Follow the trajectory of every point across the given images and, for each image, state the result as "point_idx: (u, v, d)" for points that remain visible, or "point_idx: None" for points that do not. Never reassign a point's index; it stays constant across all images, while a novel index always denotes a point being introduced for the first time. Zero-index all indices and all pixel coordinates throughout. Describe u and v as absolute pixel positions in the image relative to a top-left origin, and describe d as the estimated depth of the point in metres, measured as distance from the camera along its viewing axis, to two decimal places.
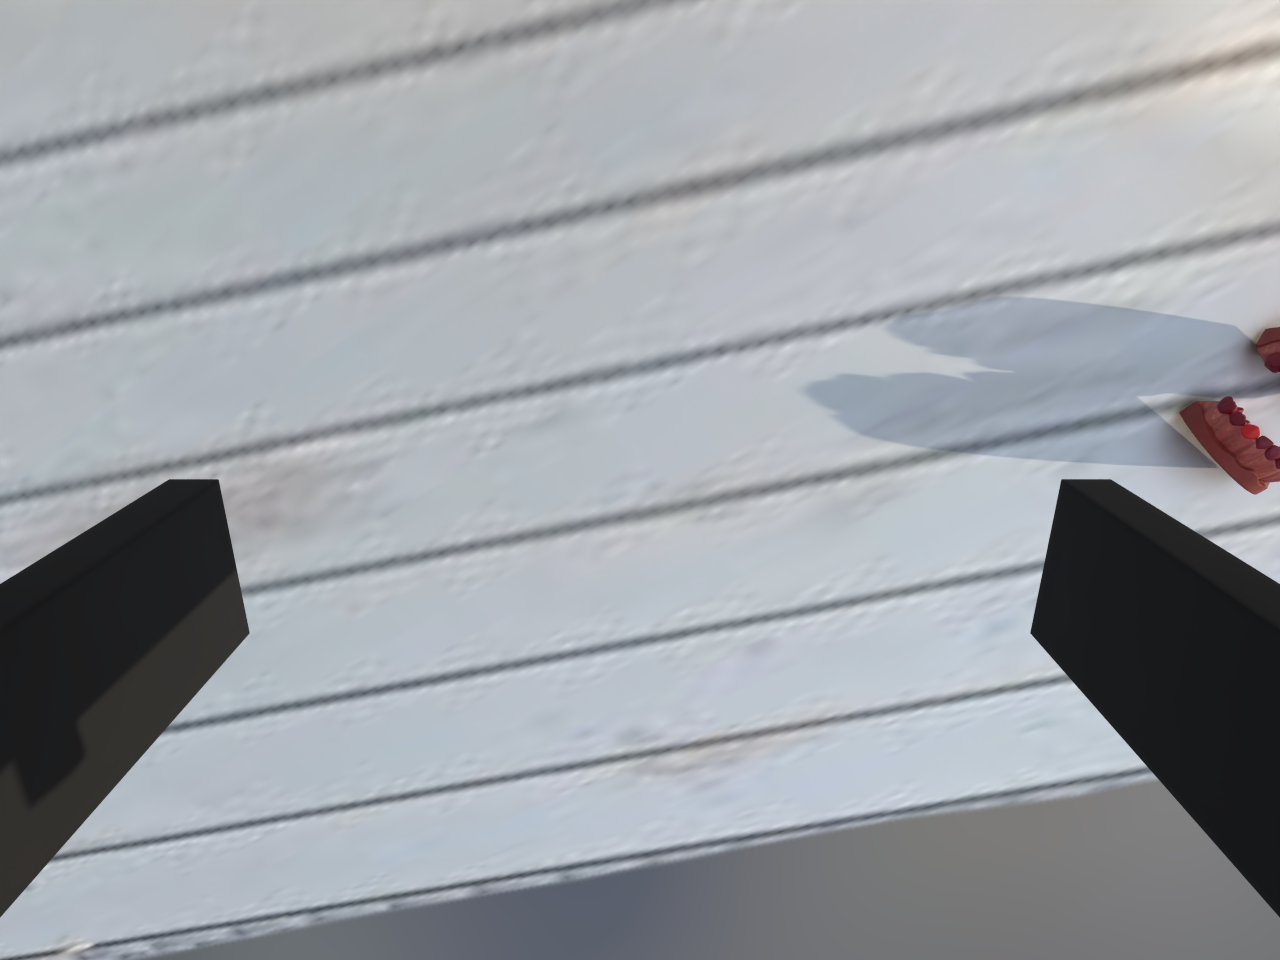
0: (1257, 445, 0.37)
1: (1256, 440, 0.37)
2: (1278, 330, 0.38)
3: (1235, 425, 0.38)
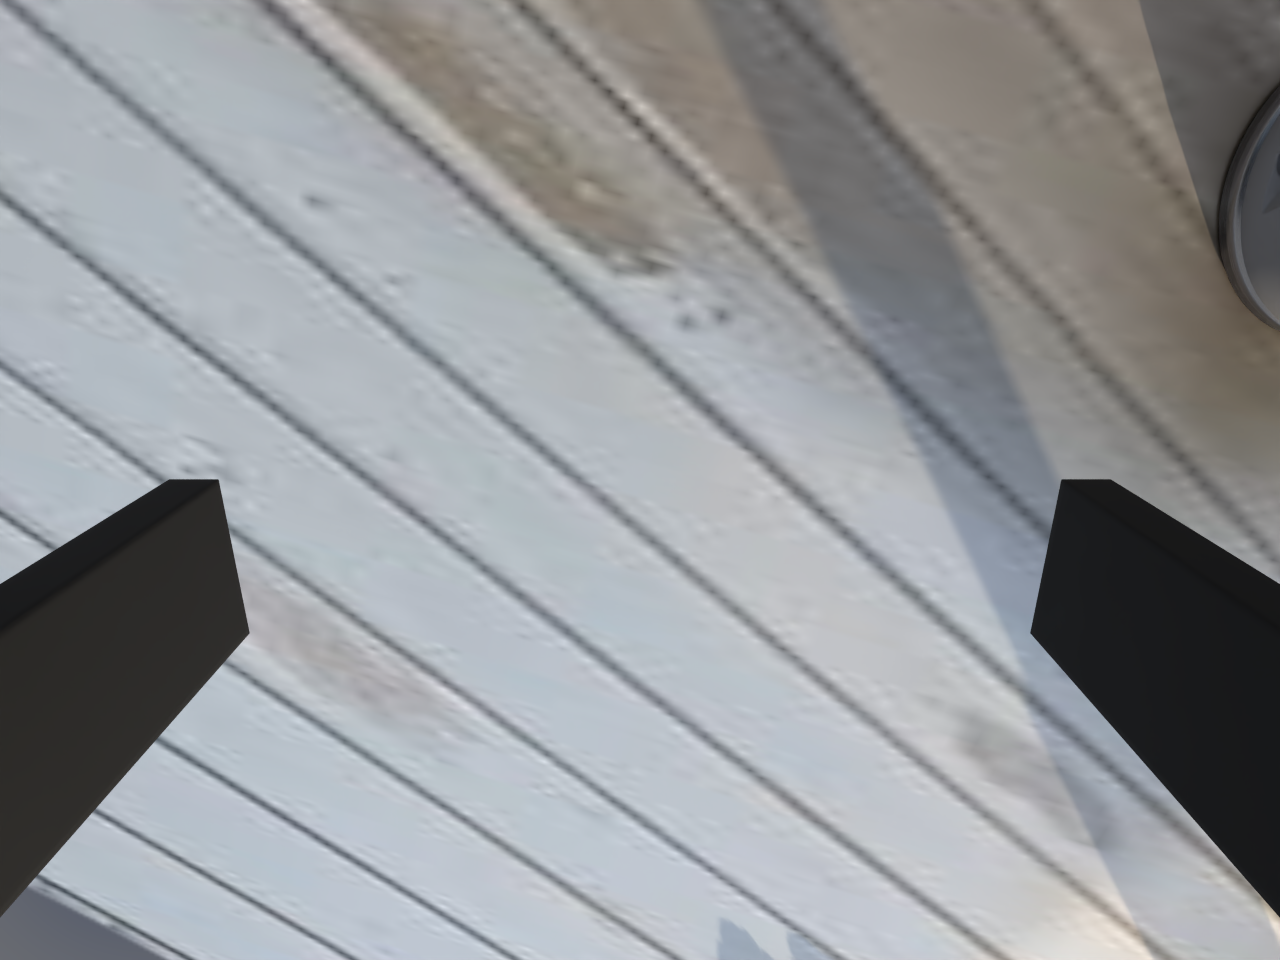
0: None
1: None
2: None
3: None
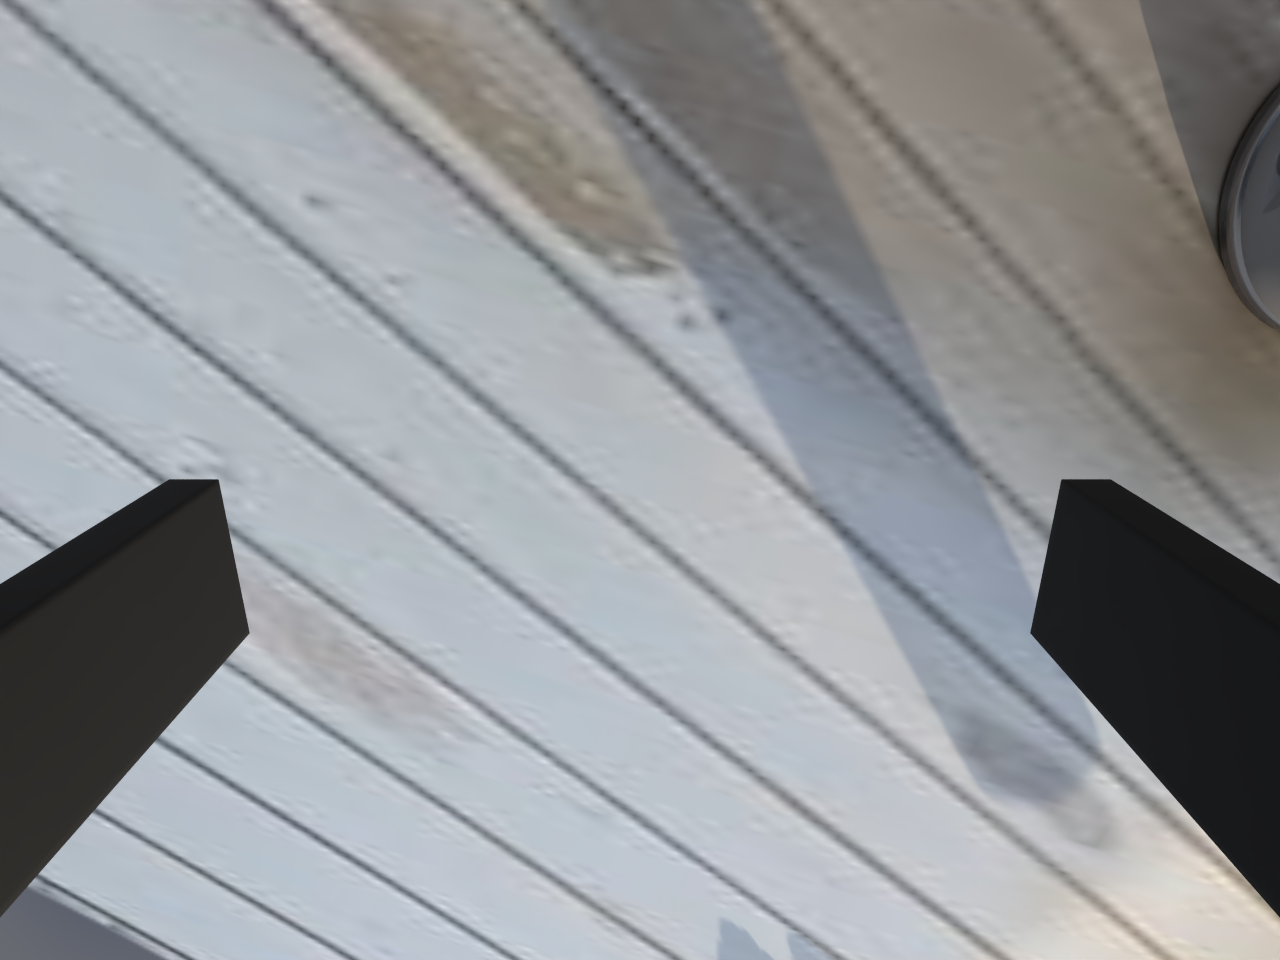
0: None
1: None
2: None
3: None
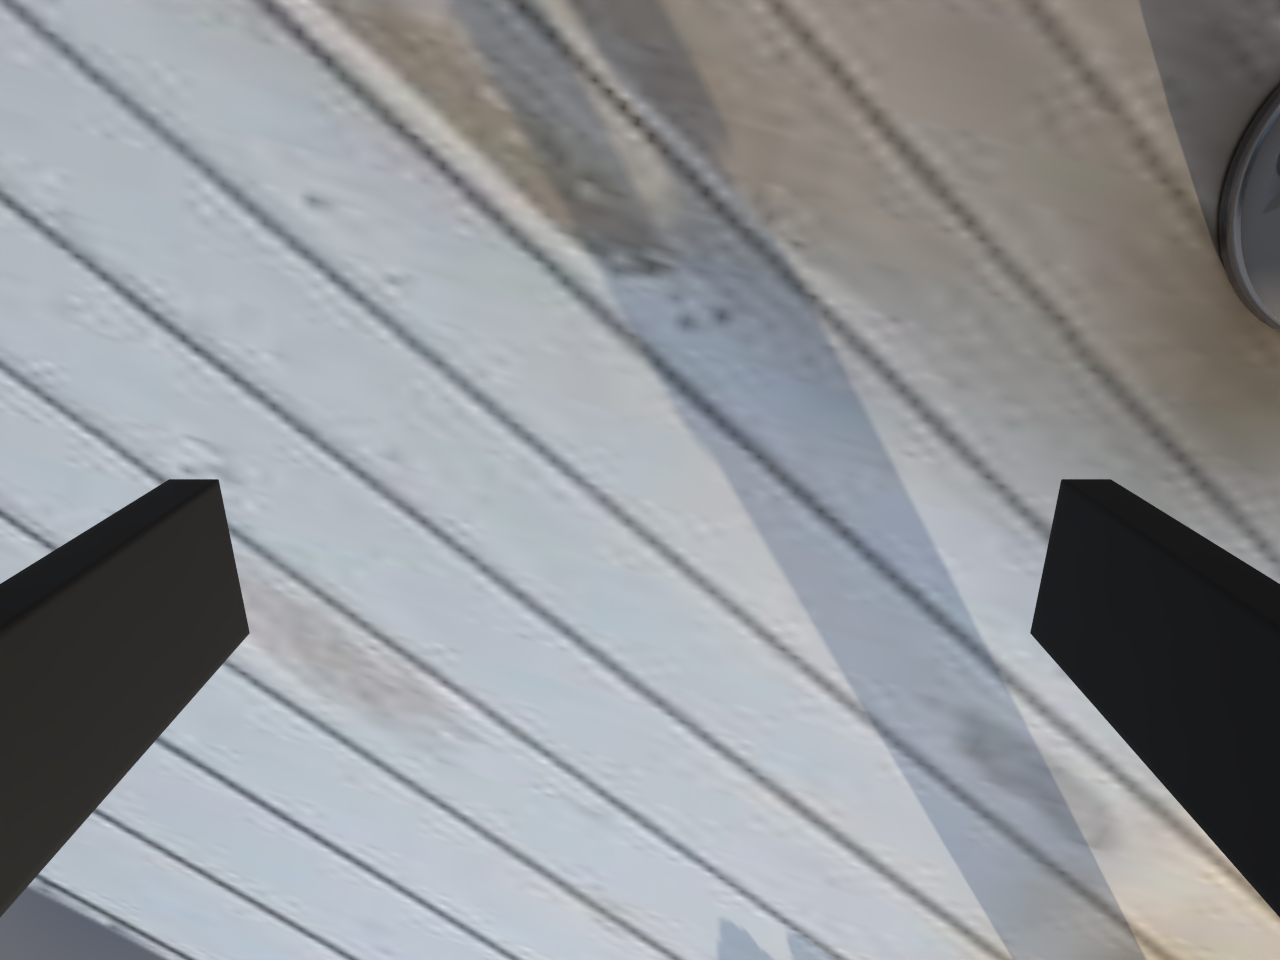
0: None
1: None
2: None
3: None
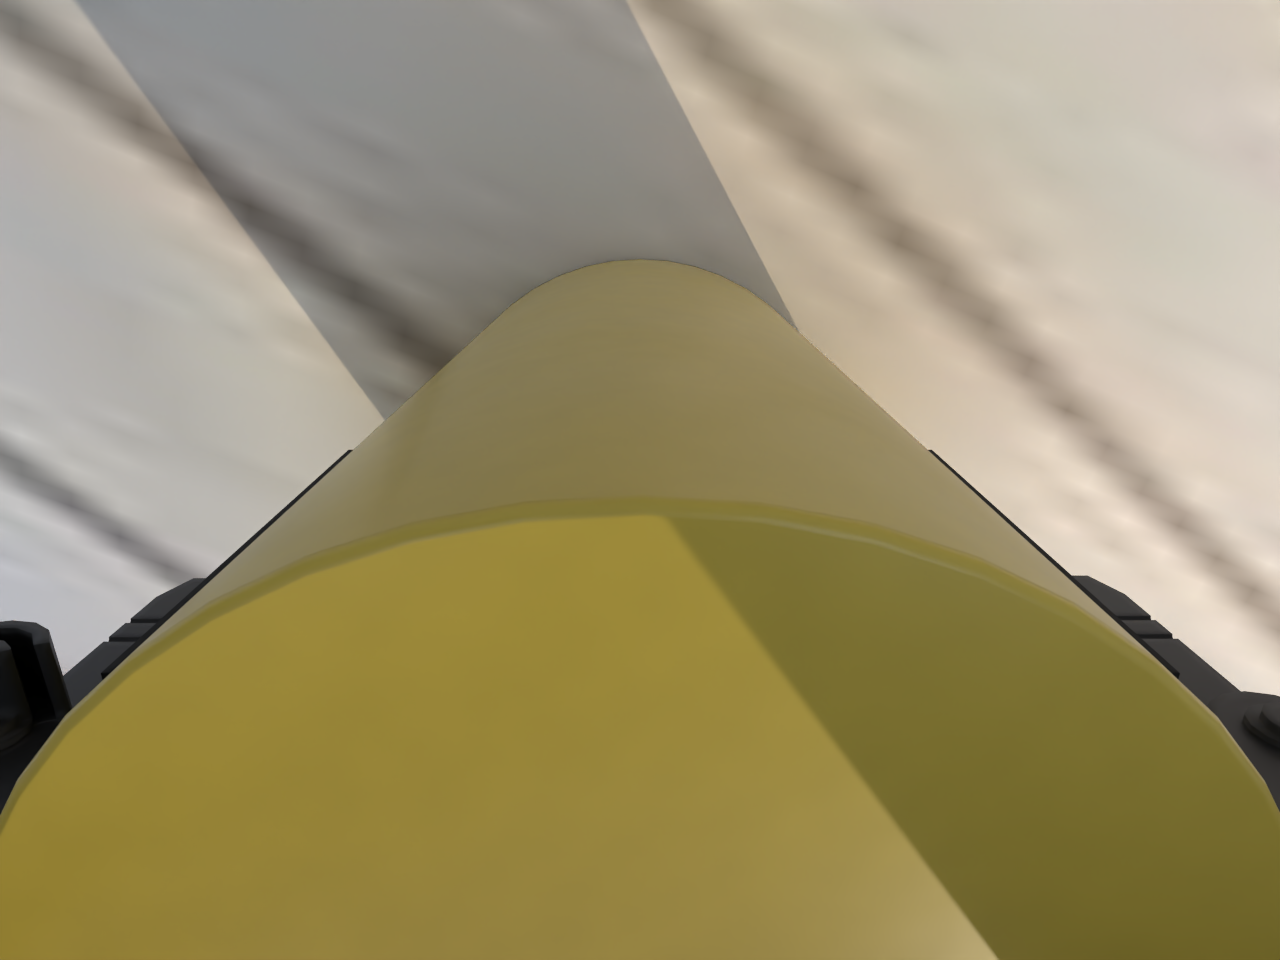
0: None
1: None
2: None
3: None
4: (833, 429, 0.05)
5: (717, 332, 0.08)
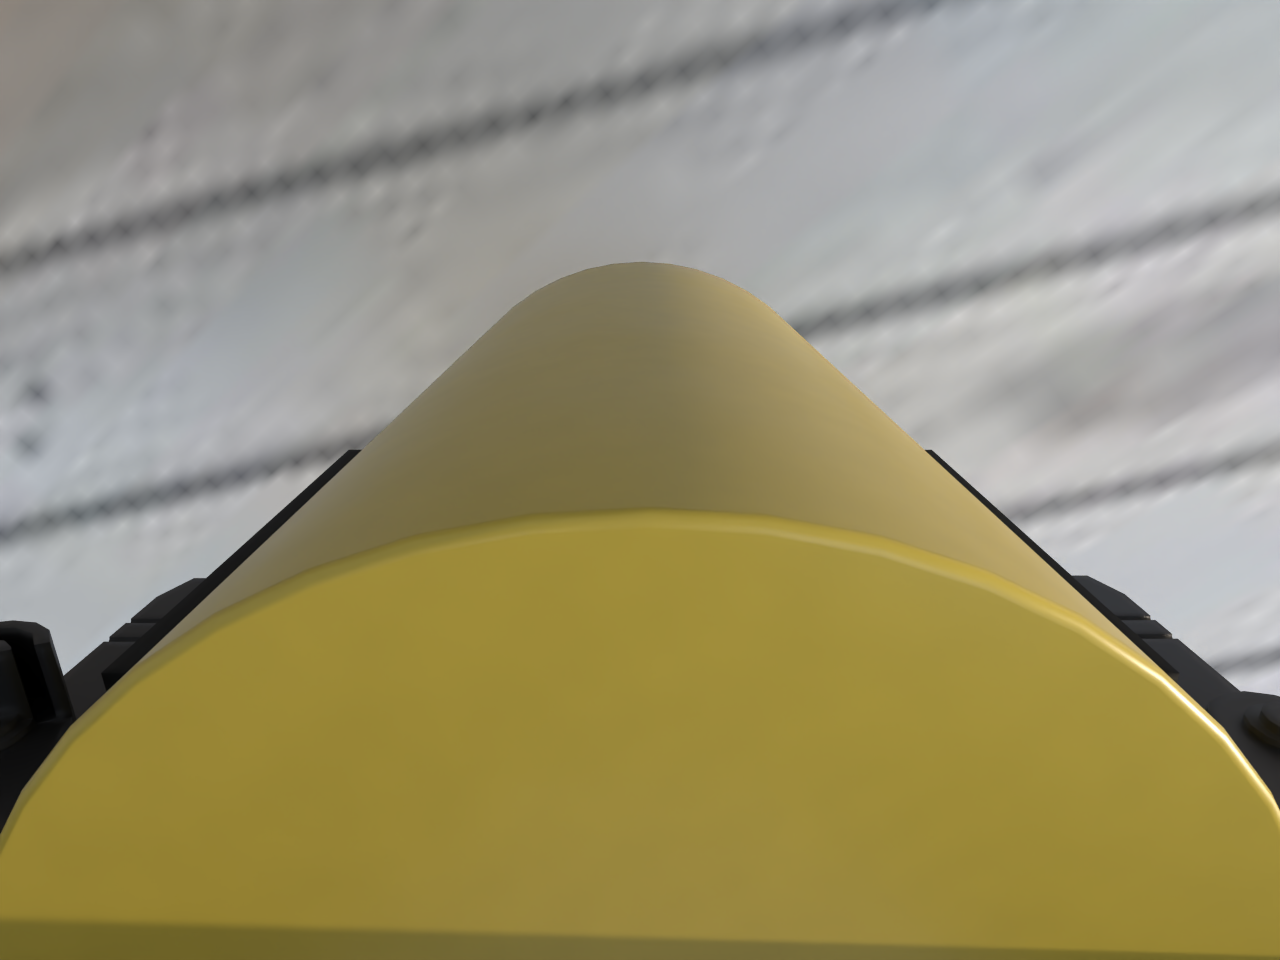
0: None
1: None
2: None
3: None
4: (837, 437, 0.05)
5: (720, 337, 0.08)
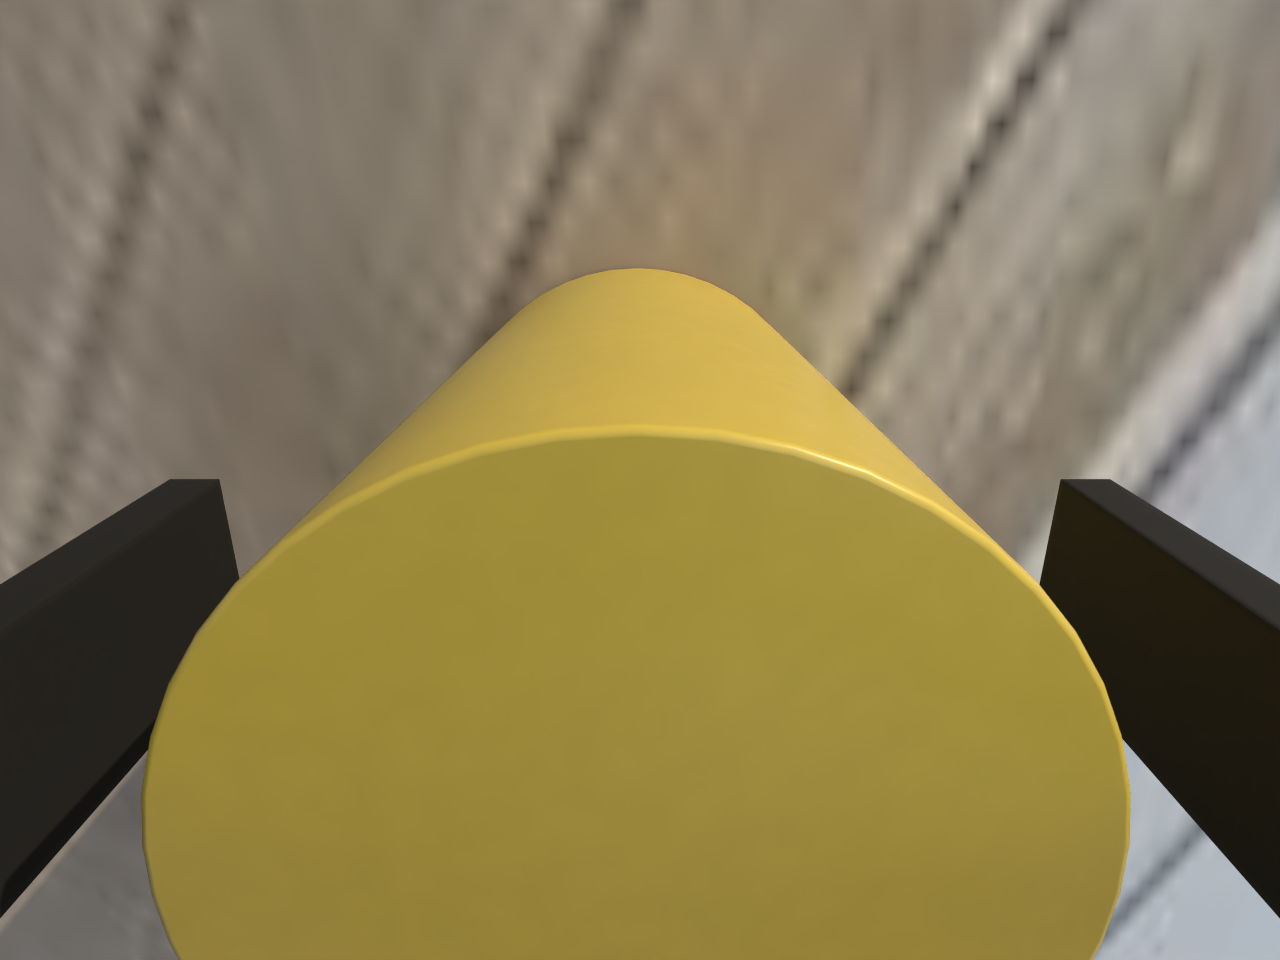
0: None
1: None
2: None
3: None
4: (781, 393, 0.07)
5: (700, 327, 0.10)
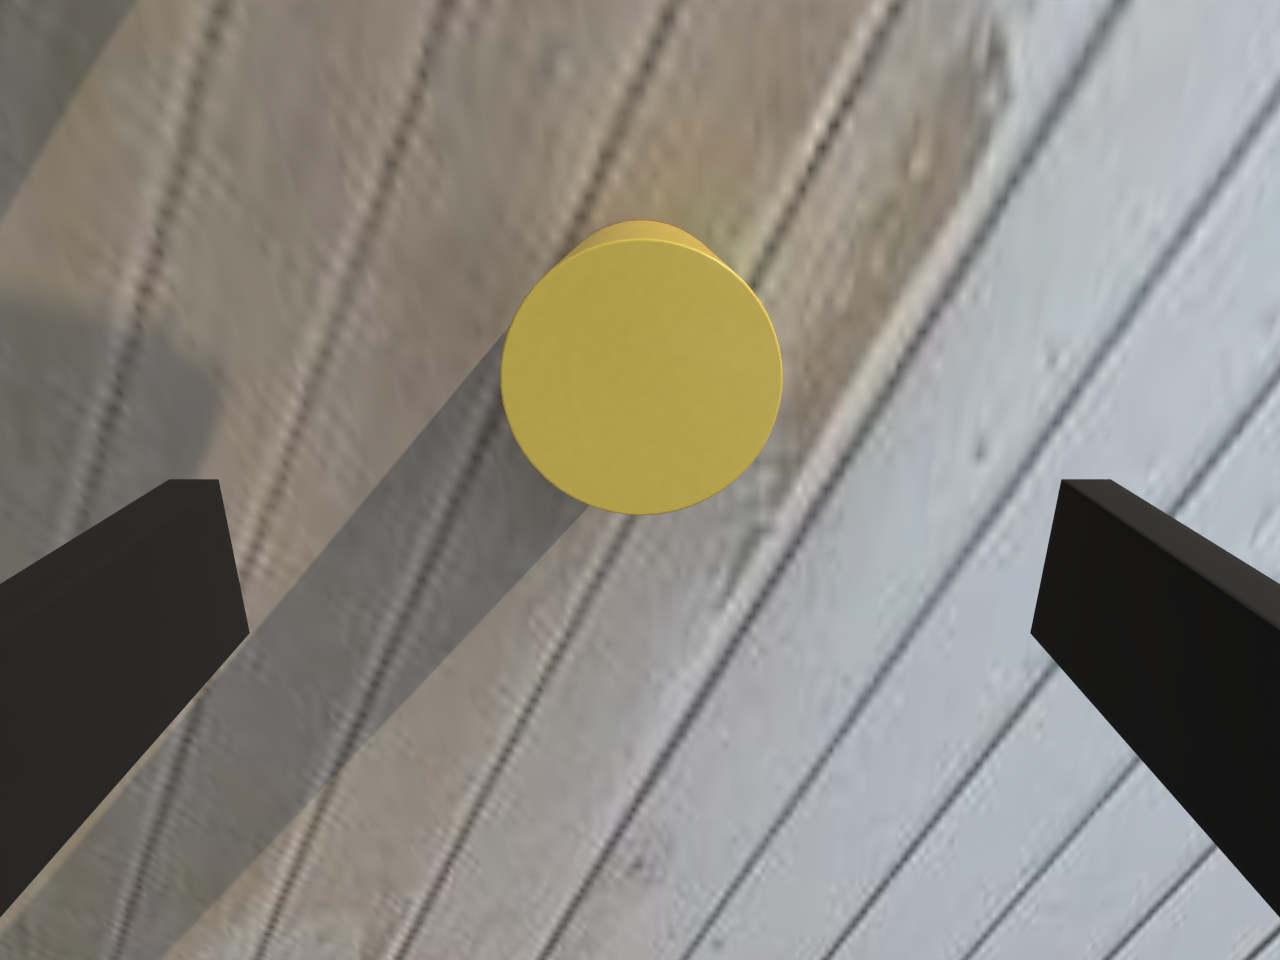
0: None
1: None
2: None
3: None
4: (685, 241, 0.23)
5: (665, 232, 0.26)
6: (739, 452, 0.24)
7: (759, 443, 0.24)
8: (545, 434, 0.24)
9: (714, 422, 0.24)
